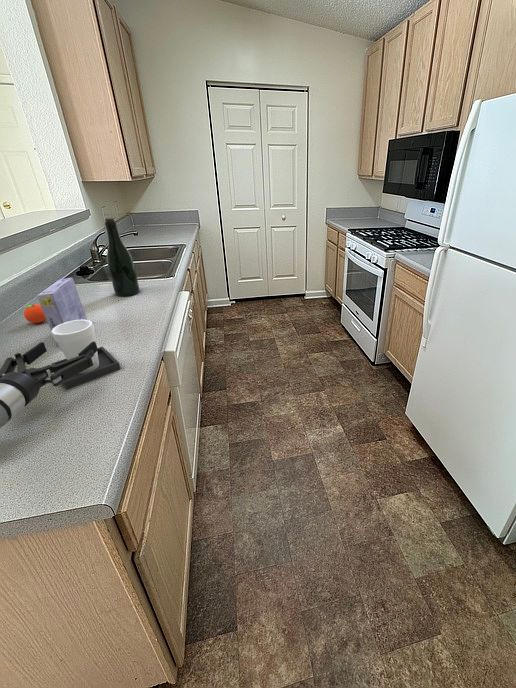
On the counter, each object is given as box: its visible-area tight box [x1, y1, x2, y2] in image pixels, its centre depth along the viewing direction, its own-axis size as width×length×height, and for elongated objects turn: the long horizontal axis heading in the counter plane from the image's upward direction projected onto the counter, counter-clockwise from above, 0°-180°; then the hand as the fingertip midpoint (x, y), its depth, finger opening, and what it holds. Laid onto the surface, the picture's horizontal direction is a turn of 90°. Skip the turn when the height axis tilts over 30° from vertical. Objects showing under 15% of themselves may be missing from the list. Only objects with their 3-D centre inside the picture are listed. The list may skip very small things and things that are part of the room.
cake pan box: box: [36, 277, 88, 346], centre depth 112 cm, size 19×5×18 cm, turn 14°
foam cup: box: [50, 319, 99, 374], centre depth 92 cm, size 10×9×13 cm
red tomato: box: [20, 304, 47, 324], centre depth 123 cm, size 8×7×7 cm
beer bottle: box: [104, 217, 141, 297], centre depth 145 cm, size 10×10×33 cm
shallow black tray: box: [50, 346, 121, 390], centre depth 95 cm, size 14×14×2 cm
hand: (69, 346), depth 88 cm, fingers open, 13 cm apart
